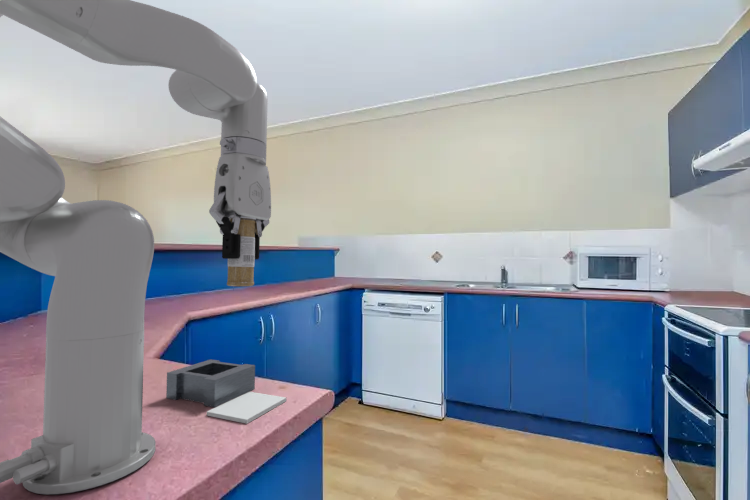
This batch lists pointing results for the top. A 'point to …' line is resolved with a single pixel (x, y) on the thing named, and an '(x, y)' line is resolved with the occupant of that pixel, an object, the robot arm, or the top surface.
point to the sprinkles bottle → (243, 255)
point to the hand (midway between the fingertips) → (241, 257)
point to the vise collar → (210, 382)
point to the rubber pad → (246, 407)
